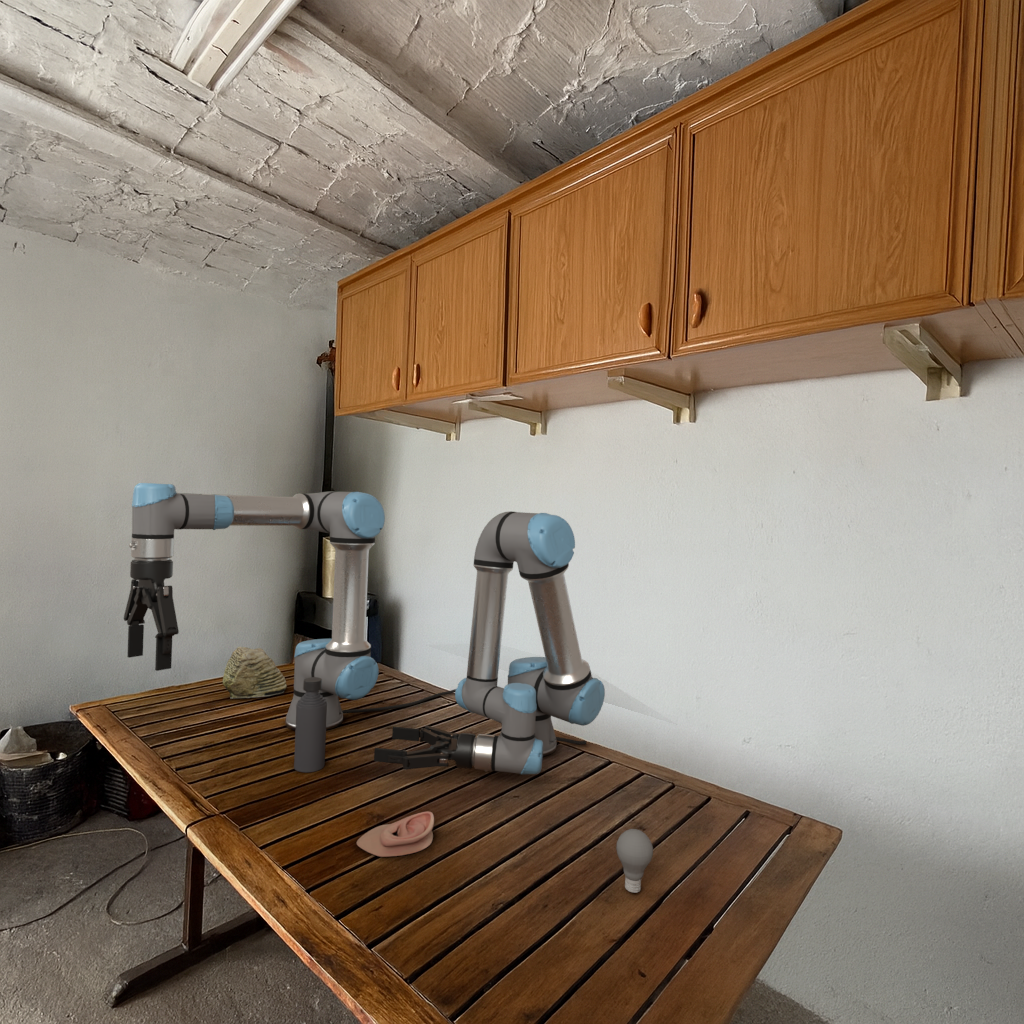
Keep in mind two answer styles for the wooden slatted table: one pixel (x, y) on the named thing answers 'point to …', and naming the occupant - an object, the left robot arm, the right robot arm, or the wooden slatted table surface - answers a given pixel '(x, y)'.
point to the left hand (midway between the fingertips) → (148, 662)
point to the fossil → (252, 674)
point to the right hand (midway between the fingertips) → (383, 743)
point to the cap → (312, 684)
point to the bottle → (310, 732)
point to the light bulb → (634, 857)
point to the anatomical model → (399, 836)
